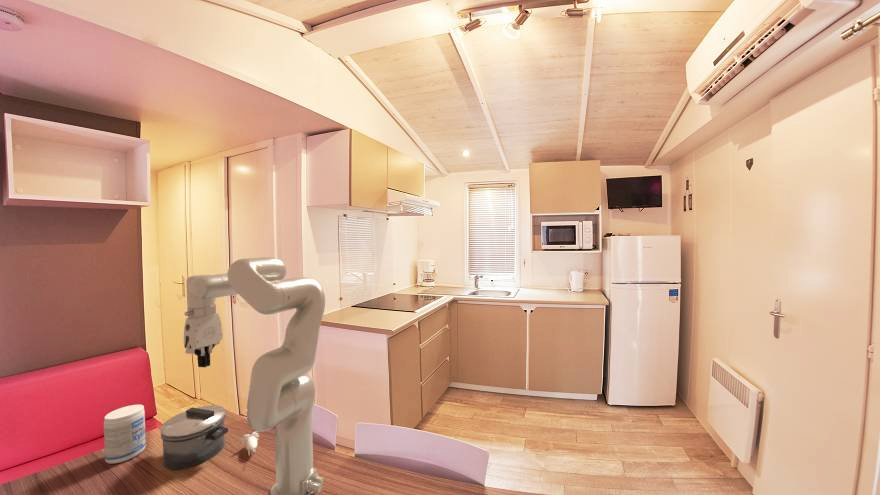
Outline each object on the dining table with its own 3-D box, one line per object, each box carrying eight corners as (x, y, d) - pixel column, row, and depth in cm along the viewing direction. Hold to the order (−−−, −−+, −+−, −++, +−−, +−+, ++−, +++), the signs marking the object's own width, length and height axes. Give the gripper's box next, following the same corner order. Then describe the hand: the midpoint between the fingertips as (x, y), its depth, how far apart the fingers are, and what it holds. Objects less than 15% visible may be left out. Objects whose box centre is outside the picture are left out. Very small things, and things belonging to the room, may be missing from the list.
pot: (248, 439, 108) (247, 412, 108) (195, 477, 91) (194, 444, 91) (199, 430, 114) (198, 404, 114) (141, 464, 97) (140, 433, 97)
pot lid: (236, 412, 108) (236, 404, 108) (186, 441, 92) (186, 431, 92) (201, 406, 112) (201, 398, 112) (147, 433, 96) (147, 424, 96)
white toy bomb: (241, 446, 104) (240, 433, 104) (259, 440, 108) (258, 427, 108) (244, 466, 95) (244, 451, 95) (264, 459, 98) (263, 444, 98)
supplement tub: (141, 457, 100) (140, 413, 100) (99, 469, 95) (98, 423, 95) (149, 441, 108) (147, 400, 108) (110, 452, 103) (109, 409, 103)
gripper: (187, 317, 93) (190, 376, 94) (231, 307, 108) (233, 358, 108) (169, 316, 95) (171, 375, 95) (214, 307, 110) (216, 357, 110)
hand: (204, 366), depth 102 cm, fingers closed
